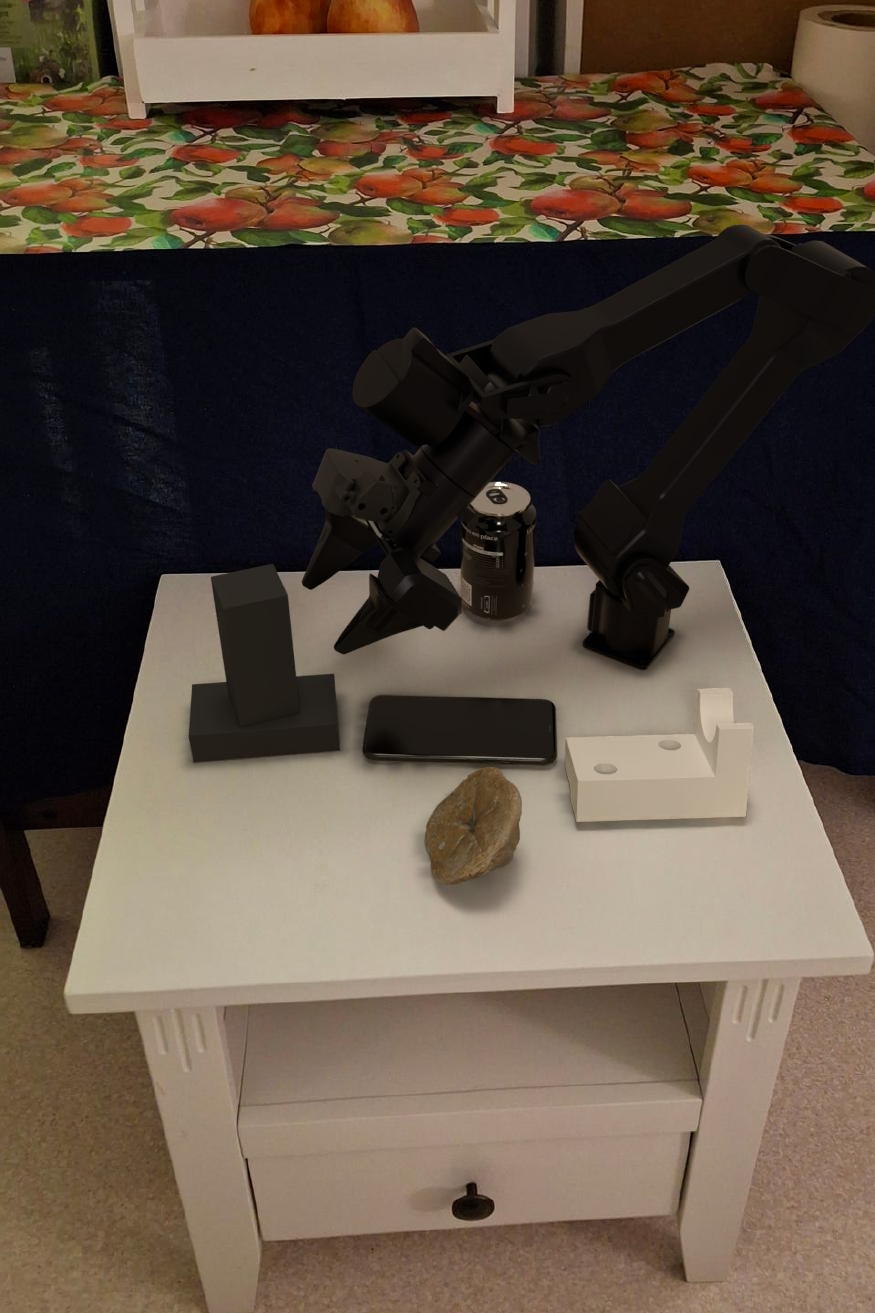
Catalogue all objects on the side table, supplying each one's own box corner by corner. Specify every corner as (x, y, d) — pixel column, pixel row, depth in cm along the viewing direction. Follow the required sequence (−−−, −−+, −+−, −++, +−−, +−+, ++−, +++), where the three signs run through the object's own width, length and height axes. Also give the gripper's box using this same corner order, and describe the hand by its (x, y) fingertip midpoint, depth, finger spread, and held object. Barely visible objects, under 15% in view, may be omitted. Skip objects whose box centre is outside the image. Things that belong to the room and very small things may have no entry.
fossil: (487, 744, 93) (529, 815, 84) (525, 773, 95) (569, 845, 86) (408, 826, 94) (440, 904, 85) (446, 853, 96) (482, 932, 87)
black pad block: (286, 680, 103) (273, 563, 96) (300, 713, 100) (288, 594, 92) (228, 694, 102) (210, 576, 94) (240, 727, 99) (223, 608, 91)
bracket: (722, 771, 100) (730, 687, 97) (745, 816, 93) (754, 728, 90) (564, 776, 100) (567, 692, 97) (576, 821, 93) (579, 733, 90)
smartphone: (360, 763, 99) (557, 769, 99) (360, 755, 99) (558, 761, 98) (370, 700, 106) (555, 705, 105) (369, 692, 105) (556, 697, 104)
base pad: (336, 699, 106) (334, 673, 104) (339, 750, 101) (337, 723, 99) (196, 710, 105) (191, 684, 103) (193, 762, 100) (188, 735, 98)
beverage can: (513, 579, 120) (517, 472, 112) (544, 617, 115) (550, 508, 107) (449, 595, 118) (449, 487, 110) (478, 634, 113) (480, 524, 105)
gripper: (338, 365, 96) (217, 513, 100) (418, 479, 82) (274, 645, 86) (433, 437, 103) (317, 572, 107) (522, 553, 89) (385, 703, 93)
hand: (321, 618), depth 98 cm, fingers open, 9 cm apart
